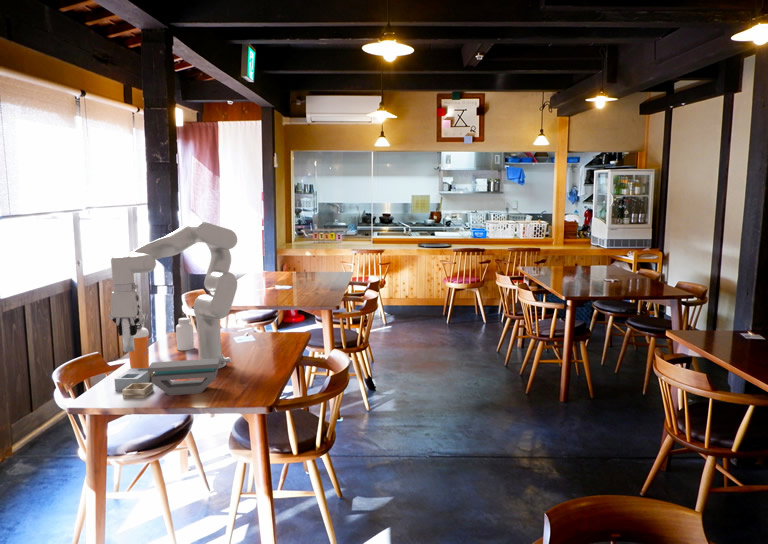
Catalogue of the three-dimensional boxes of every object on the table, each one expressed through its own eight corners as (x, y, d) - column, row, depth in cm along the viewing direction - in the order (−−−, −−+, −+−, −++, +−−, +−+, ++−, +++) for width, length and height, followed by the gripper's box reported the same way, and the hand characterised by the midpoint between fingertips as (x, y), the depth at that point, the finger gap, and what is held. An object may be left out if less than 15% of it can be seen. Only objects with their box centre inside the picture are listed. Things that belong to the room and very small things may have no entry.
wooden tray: (153, 390, 225) (152, 382, 224) (144, 397, 217) (143, 389, 217) (132, 390, 225) (132, 383, 225) (122, 397, 217) (122, 389, 217)
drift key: (159, 378, 239) (159, 371, 239) (156, 381, 236) (155, 374, 235) (141, 378, 239) (141, 371, 239) (137, 381, 236) (137, 374, 235)
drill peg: (136, 349, 229) (133, 314, 227) (131, 351, 225) (129, 316, 224) (126, 349, 229) (123, 314, 228) (121, 352, 225) (118, 316, 224)
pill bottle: (197, 348, 287) (196, 317, 285) (184, 351, 281) (182, 321, 279) (187, 346, 292) (185, 316, 290) (173, 349, 285) (171, 319, 283)
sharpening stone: (149, 396, 218) (147, 368, 217) (154, 390, 226) (152, 362, 224) (219, 391, 222) (217, 363, 221) (221, 385, 230) (219, 358, 229)
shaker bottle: (129, 376, 244) (126, 328, 241) (127, 370, 252) (124, 324, 249) (152, 372, 248) (149, 326, 245) (150, 367, 256) (147, 322, 253)
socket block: (153, 378, 239) (152, 368, 239) (138, 390, 226) (137, 378, 225) (131, 378, 240) (131, 368, 239) (115, 390, 226) (114, 379, 225)
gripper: (149, 286, 227) (153, 332, 230) (107, 286, 228) (111, 332, 231) (141, 289, 220) (145, 337, 223) (97, 290, 221) (101, 337, 223)
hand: (127, 334), depth 227 cm, fingers closed on drill peg, 4 cm apart
